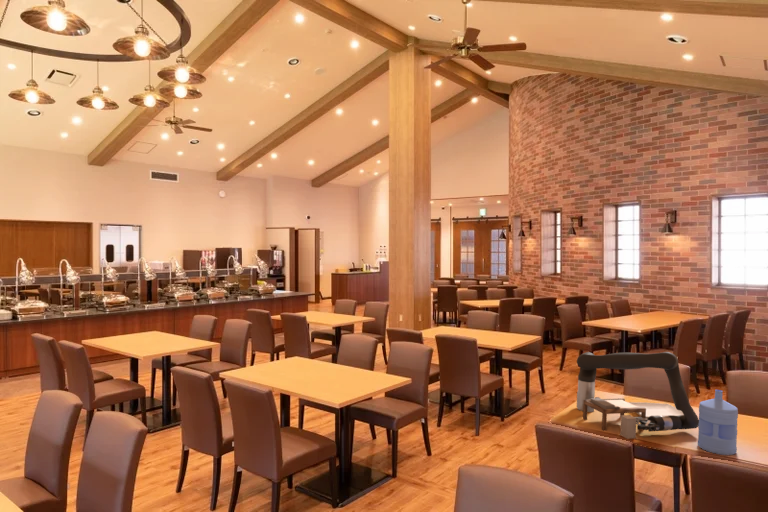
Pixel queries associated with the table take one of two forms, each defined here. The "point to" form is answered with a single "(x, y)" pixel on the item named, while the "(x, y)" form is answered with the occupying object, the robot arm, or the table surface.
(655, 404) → the square plate
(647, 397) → the table surface
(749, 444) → the table surface
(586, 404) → the frame
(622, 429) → the granite block
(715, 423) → the water jug
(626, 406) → the trapdoor
